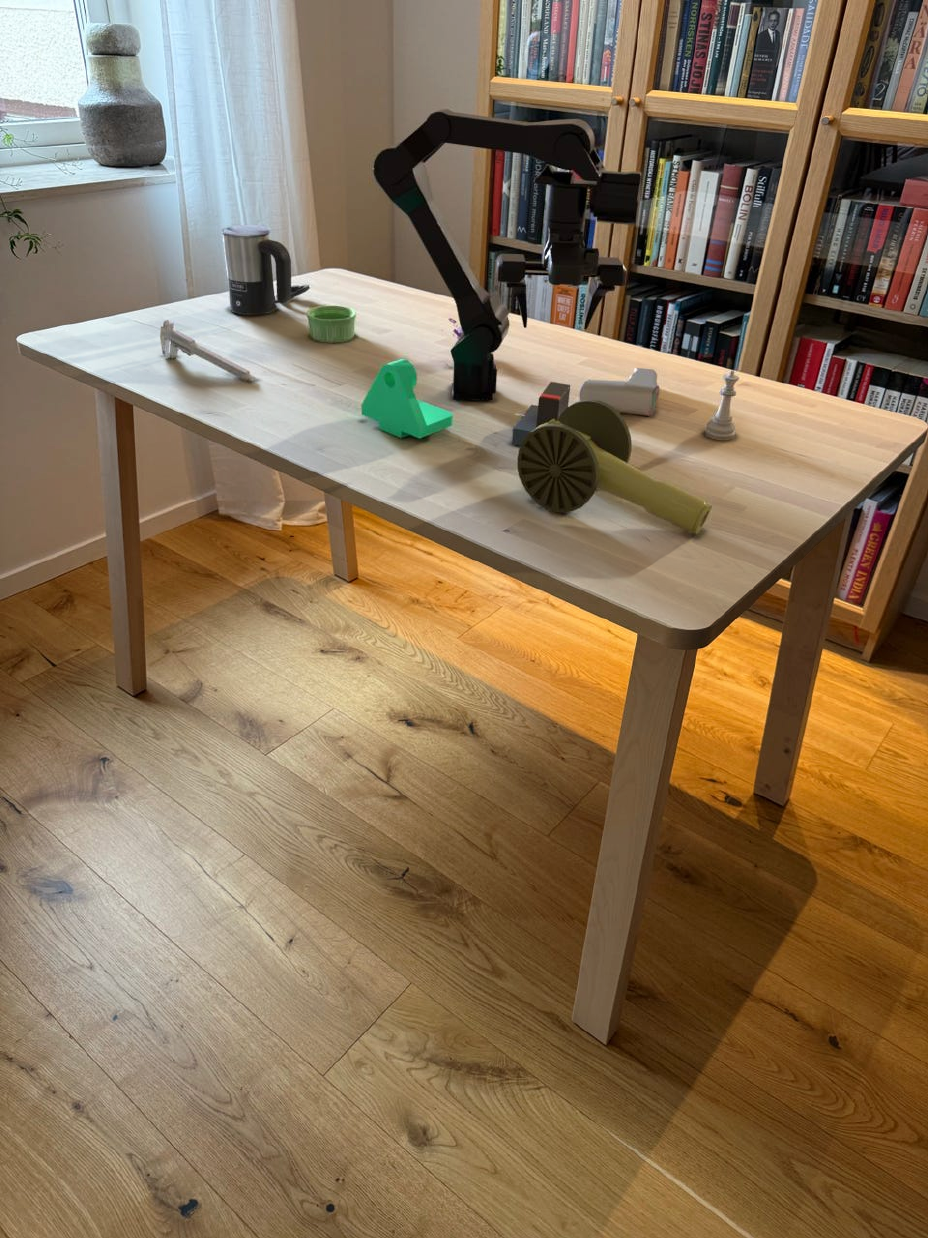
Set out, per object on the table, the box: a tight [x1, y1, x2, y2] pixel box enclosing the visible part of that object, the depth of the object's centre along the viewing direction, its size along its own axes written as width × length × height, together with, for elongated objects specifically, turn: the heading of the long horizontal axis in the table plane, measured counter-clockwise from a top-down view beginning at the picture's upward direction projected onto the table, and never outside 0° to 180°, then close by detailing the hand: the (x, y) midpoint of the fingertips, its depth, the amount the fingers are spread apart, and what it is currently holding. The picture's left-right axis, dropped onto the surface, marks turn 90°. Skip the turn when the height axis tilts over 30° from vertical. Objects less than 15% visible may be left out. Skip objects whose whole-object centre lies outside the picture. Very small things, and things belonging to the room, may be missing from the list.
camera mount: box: [360, 358, 454, 439], centre depth 138 cm, size 12×8×10 cm, turn 48°
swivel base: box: [511, 404, 538, 447], centre depth 139 cm, size 13×11×3 cm
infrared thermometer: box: [578, 367, 660, 417], centre depth 153 cm, size 5×12×15 cm
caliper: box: [159, 319, 256, 382], centre depth 156 cm, size 20×1×6 cm, turn 58°
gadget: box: [536, 381, 571, 427], centre depth 137 cm, size 7×3×5 cm, turn 162°
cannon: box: [516, 399, 713, 535], centre depth 118 cm, size 25×12×11 cm, turn 58°
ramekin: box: [305, 304, 357, 344], centre depth 173 cm, size 9×9×4 cm
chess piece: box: [704, 370, 740, 441], centre depth 140 cm, size 4×4×10 cm
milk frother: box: [220, 224, 311, 316], centre depth 184 cm, size 14×16×15 cm
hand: (554, 327), depth 144 cm, fingers open, 9 cm apart
